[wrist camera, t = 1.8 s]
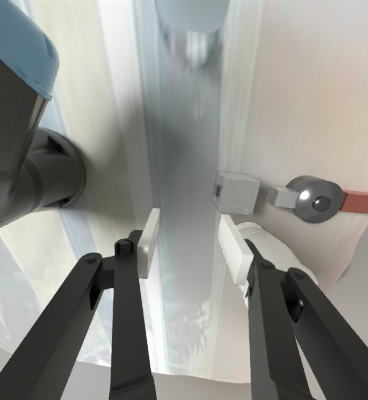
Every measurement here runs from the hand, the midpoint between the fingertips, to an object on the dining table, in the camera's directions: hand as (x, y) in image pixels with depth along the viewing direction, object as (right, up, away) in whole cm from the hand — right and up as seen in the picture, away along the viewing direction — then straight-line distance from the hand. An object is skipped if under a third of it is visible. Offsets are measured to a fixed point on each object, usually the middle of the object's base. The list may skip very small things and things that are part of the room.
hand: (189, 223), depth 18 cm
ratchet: (+27, +3, +17) cm, 32 cm away
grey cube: (+9, +5, +16) cm, 19 cm away
